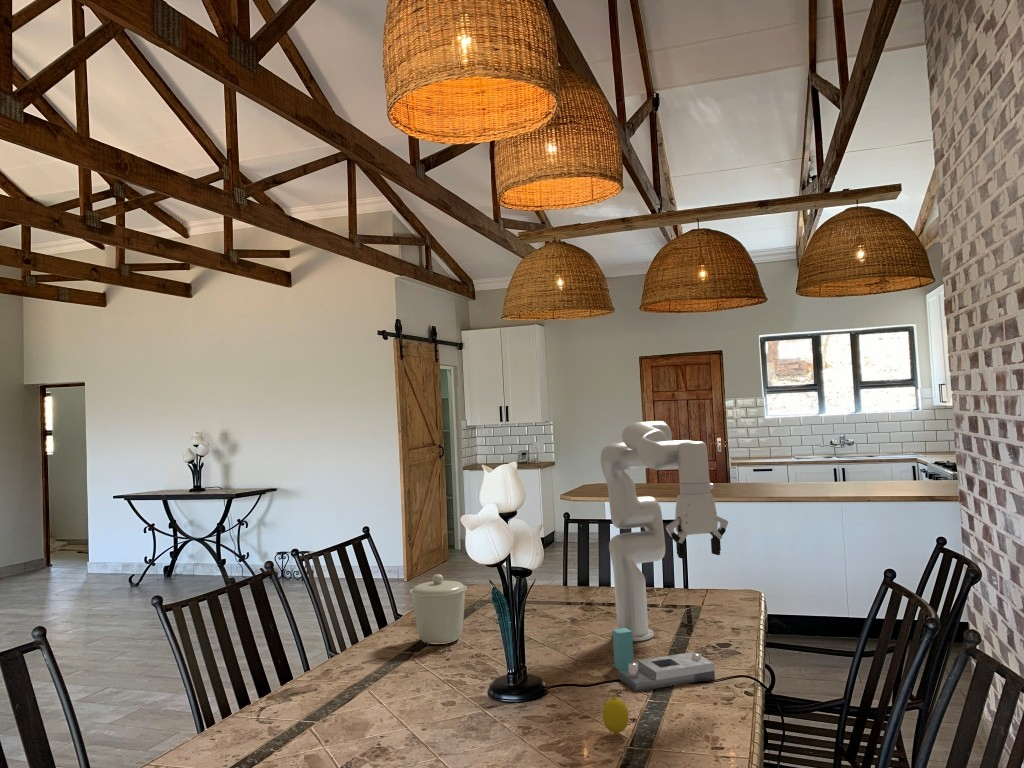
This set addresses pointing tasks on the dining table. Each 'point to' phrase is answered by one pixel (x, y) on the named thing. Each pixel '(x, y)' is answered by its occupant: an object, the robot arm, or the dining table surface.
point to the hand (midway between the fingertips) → (699, 556)
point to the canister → (439, 609)
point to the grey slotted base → (667, 671)
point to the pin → (622, 648)
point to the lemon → (615, 715)
